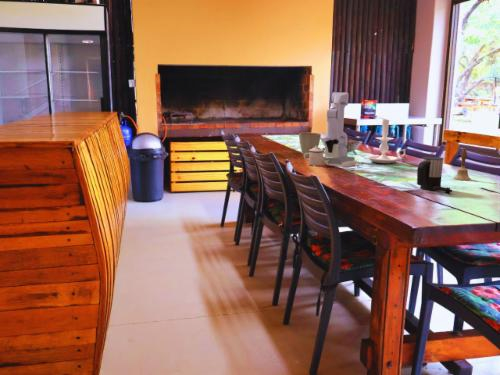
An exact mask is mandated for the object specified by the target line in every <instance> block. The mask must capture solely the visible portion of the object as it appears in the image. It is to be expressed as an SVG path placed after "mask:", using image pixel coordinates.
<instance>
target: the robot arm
mask: <svg viewBox="0 0 500 375" xmlns="http://www.w3.org/2000/svg"><path fill="white" fill-rule="evenodd" d="M331 102H332V103H331V105H330V108H329V109H327V112H326V118H327V119H326V121H327V131H326V132H327V135H326V136H325V137H323V139H322V142H324V144H325V143H326V145H327V148H328V152H329V153H332V150H333V145H334V144H339V145H338V156H339V157H341V156H348V148H347V146H348V134H347V133H346V132H344V125H345V124H344V122H345V108H346V107H347V106H348V105H349V93H348V92H347V91H346V92H335V91H332V94H331Z"/></svg>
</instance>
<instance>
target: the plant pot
mask: <svg viewBox="0 0 500 375" xmlns="http://www.w3.org/2000/svg"><path fill="white" fill-rule="evenodd" d="M321 136H322V134H321V133H317V132H302V133H301V132H300V133H298V138H299V139H298V140H299V145H300V150H301V153H302V156H303V157H304V154H305V153H309V150H310V149H312V148H315V146H318V147H319V145H320V142H321ZM305 158H306V159H307V158H308V159H309V154H306V155H305Z"/></svg>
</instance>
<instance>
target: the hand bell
mask: <svg viewBox="0 0 500 375" xmlns="http://www.w3.org/2000/svg"><path fill="white" fill-rule="evenodd" d="M467 152H468V151H467V149H466V148H462V151H461V155H460V158H461V166H460V168H458V170H457V173H456V175H455V176H454V177H453V178H452V179H453V180H455V181H461V182H463V181H464V182H469V181H472V179H471V177H470V176H469V172H468V168H466V160H467V156H468V153H467Z"/></svg>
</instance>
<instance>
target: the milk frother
mask: <svg viewBox="0 0 500 375" xmlns="http://www.w3.org/2000/svg"><path fill="white" fill-rule="evenodd" d="M422 158H423V161H421V162H419V164H418V166H417V169H416V170H417V171H416V172H417V174H416V176H417V177H416V183H417V185H418V186H420V187H419V189H422V190H425V191H441V192H444V193H445V194H450V193H452V192H453V190H452V189H451V188H450V187H443V186H441V185H442V173H443V166H444V159H445V158H444V157H441V156H429V155H428V156H422Z"/></svg>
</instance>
